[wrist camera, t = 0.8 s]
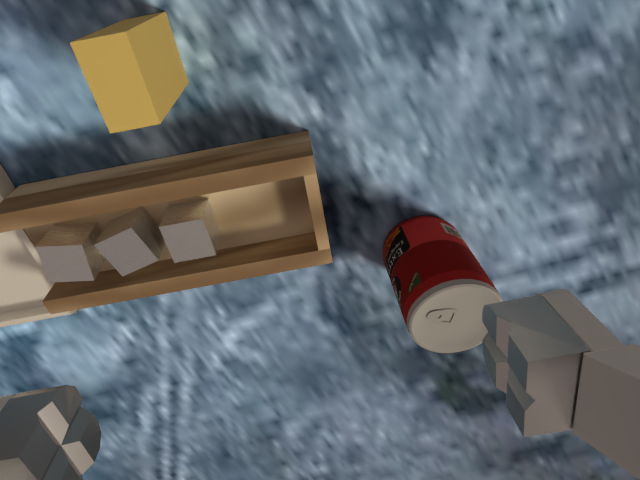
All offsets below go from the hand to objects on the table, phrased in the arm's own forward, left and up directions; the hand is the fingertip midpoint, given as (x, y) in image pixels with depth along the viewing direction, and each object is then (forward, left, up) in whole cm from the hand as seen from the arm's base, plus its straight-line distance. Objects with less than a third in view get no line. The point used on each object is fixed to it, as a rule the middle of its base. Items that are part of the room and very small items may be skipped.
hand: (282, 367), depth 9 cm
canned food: (+20, +10, -30) cm, 38 cm away
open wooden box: (+11, -11, -30) cm, 34 cm away
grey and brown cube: (+11, -20, -27) cm, 35 cm away
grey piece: (+11, -15, -27) cm, 33 cm away
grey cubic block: (+11, -10, -27) cm, 31 cm away
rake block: (-2, -9, -30) cm, 31 cm away
